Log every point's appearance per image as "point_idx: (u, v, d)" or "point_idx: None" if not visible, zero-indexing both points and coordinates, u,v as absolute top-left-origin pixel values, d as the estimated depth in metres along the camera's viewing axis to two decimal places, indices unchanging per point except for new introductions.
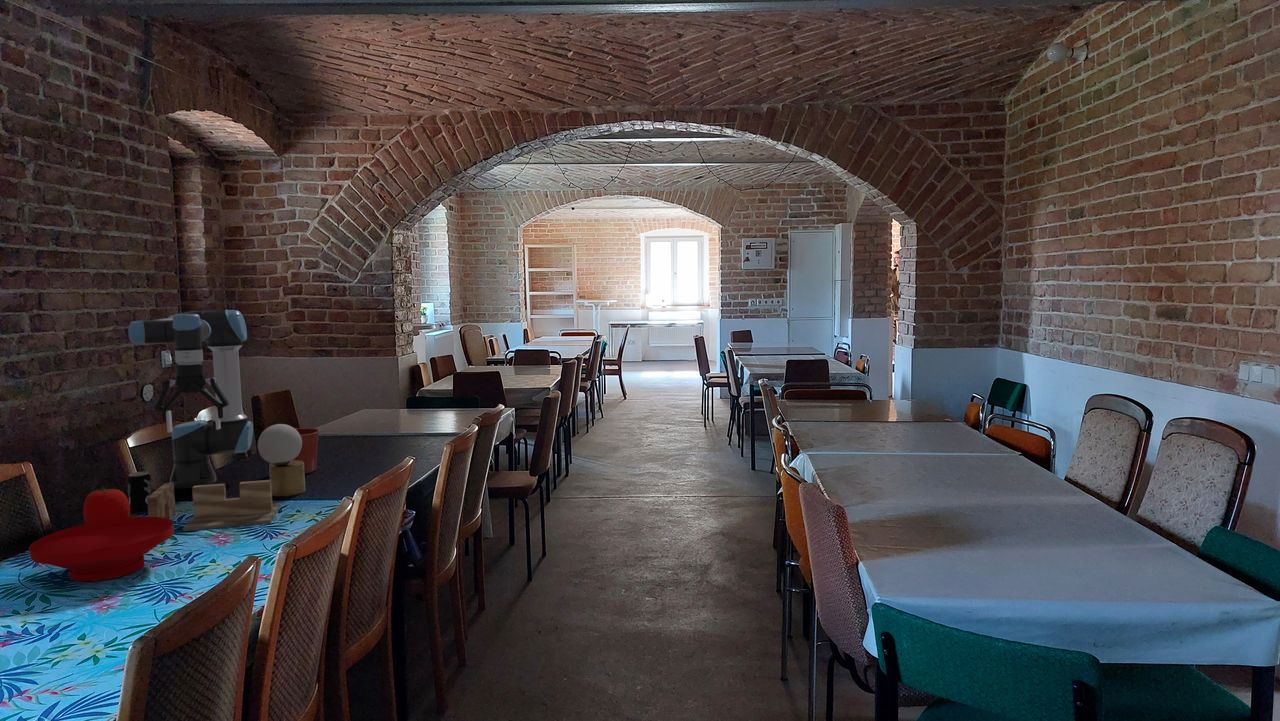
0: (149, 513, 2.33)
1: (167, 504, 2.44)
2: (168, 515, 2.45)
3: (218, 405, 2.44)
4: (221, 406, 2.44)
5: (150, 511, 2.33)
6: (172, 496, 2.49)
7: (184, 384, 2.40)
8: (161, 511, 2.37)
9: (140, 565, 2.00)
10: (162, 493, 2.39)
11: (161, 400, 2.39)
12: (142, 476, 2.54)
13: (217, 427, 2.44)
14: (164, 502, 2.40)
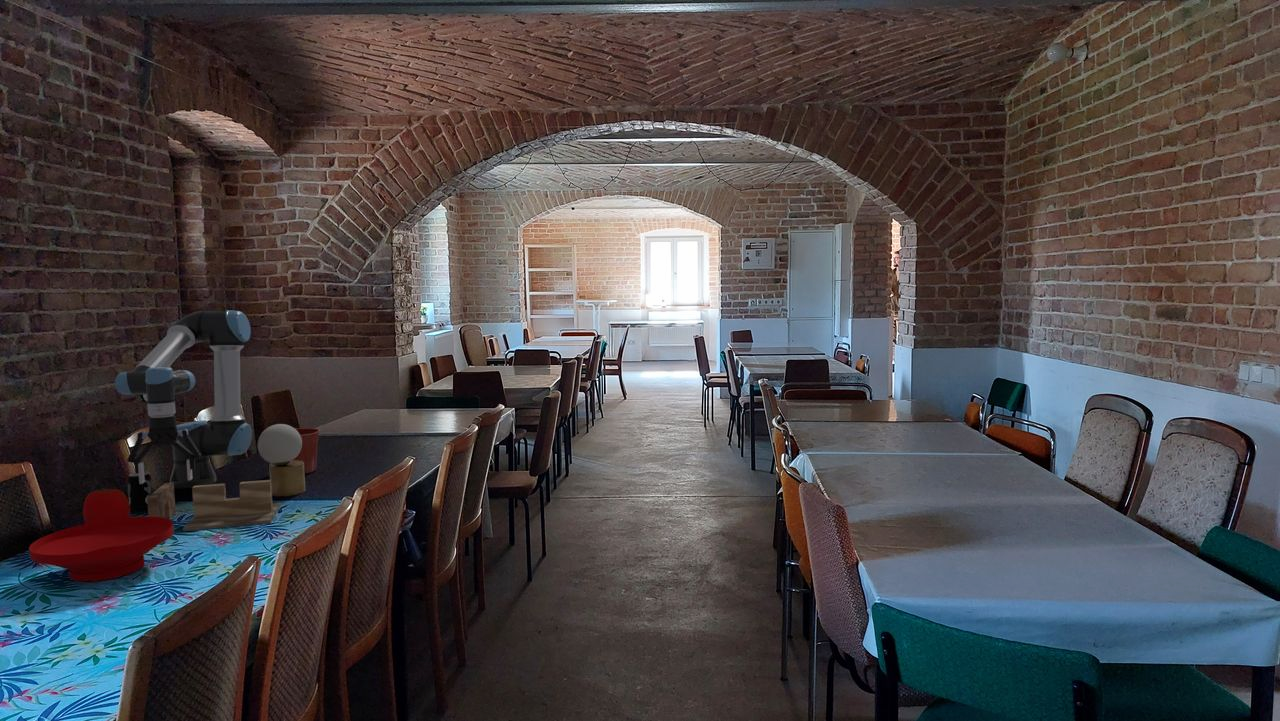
0: (149, 513, 2.33)
1: (167, 504, 2.44)
2: (168, 515, 2.45)
3: (190, 456, 2.48)
4: (193, 457, 2.49)
5: (150, 511, 2.33)
6: (172, 496, 2.49)
7: (156, 436, 2.44)
8: (161, 511, 2.37)
9: (140, 565, 2.00)
10: (162, 493, 2.39)
11: (133, 452, 2.43)
12: None
13: (189, 478, 2.48)
14: (164, 502, 2.40)
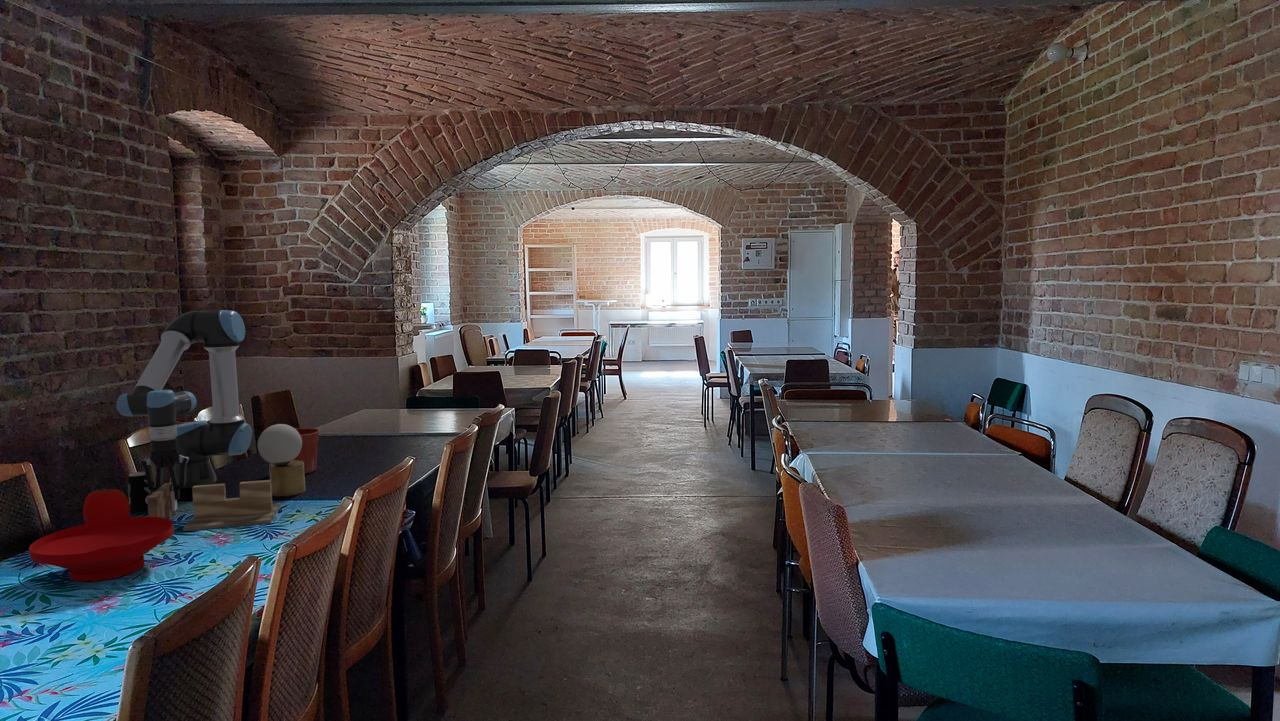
0: (149, 513, 2.33)
1: (167, 504, 2.44)
2: (168, 515, 2.45)
3: (175, 487, 2.48)
4: (177, 489, 2.48)
5: (150, 511, 2.33)
6: None
7: (158, 459, 2.45)
8: (161, 511, 2.37)
9: (140, 565, 2.00)
10: (162, 493, 2.39)
11: (149, 480, 2.45)
12: (142, 476, 2.54)
13: (173, 508, 2.48)
14: (164, 502, 2.40)
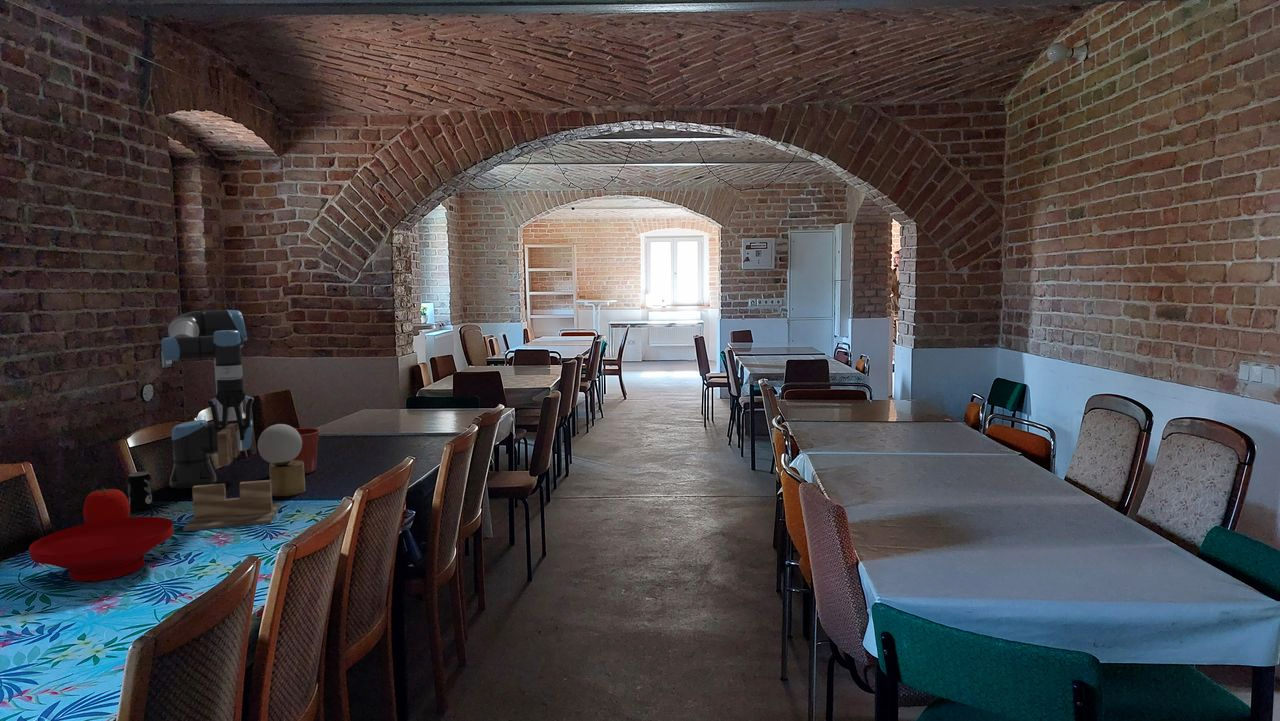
0: (219, 449, 2.33)
1: (233, 443, 2.45)
2: (234, 454, 2.45)
3: (241, 427, 2.48)
4: (242, 429, 2.49)
5: (220, 447, 2.33)
6: None
7: (224, 399, 2.45)
8: (229, 448, 2.37)
9: (140, 565, 2.00)
10: (230, 431, 2.39)
11: (216, 420, 2.46)
12: (142, 476, 2.54)
13: (239, 449, 2.48)
14: (231, 440, 2.41)
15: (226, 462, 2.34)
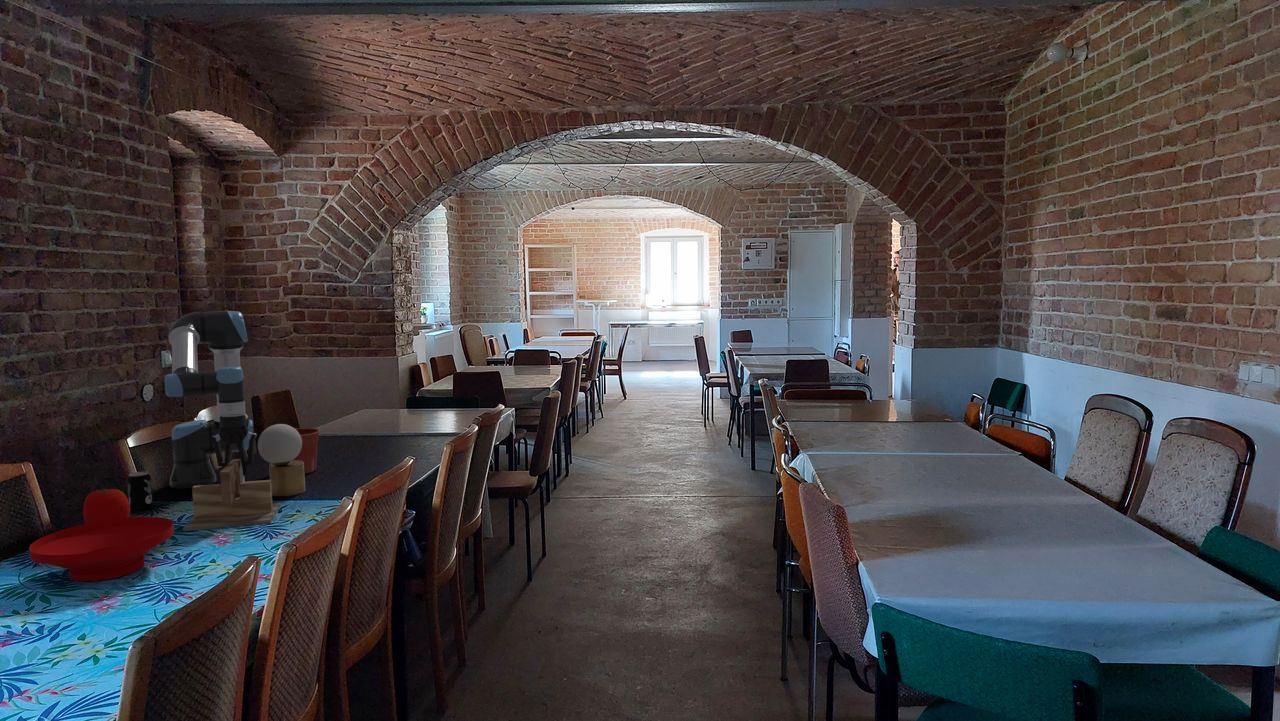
0: (222, 487, 2.35)
1: (236, 480, 2.46)
2: (237, 491, 2.46)
3: (244, 463, 2.49)
4: (245, 465, 2.50)
5: (223, 485, 2.35)
6: None
7: (227, 435, 2.47)
8: (232, 486, 2.38)
9: (140, 565, 2.00)
10: (233, 468, 2.41)
11: (218, 456, 2.47)
12: (142, 476, 2.54)
13: None
14: (234, 477, 2.42)
15: (229, 500, 2.36)
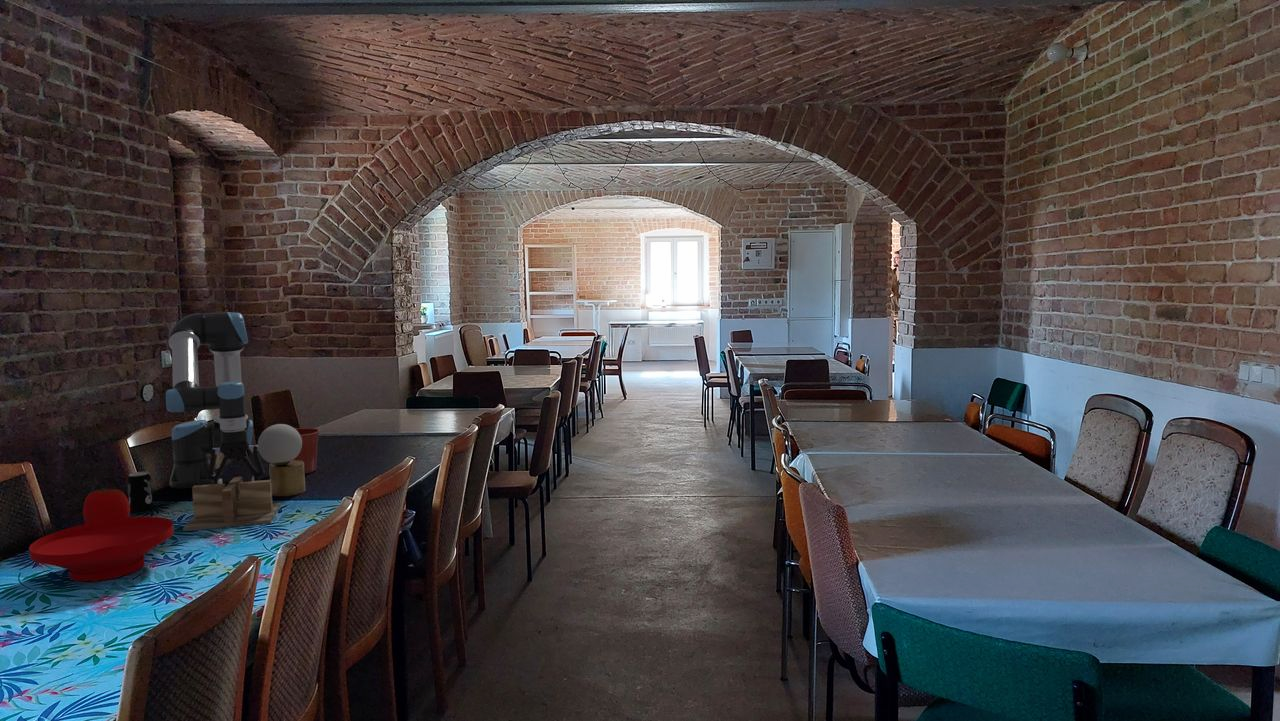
0: (223, 506, 2.35)
1: None
2: None
3: (255, 474, 2.51)
4: (257, 475, 2.51)
5: (224, 504, 2.35)
6: None
7: (228, 450, 2.47)
8: (234, 505, 2.39)
9: (140, 565, 2.00)
10: (234, 487, 2.41)
11: (211, 469, 2.47)
12: (142, 476, 2.54)
13: None
14: (236, 496, 2.43)
15: (231, 519, 2.36)
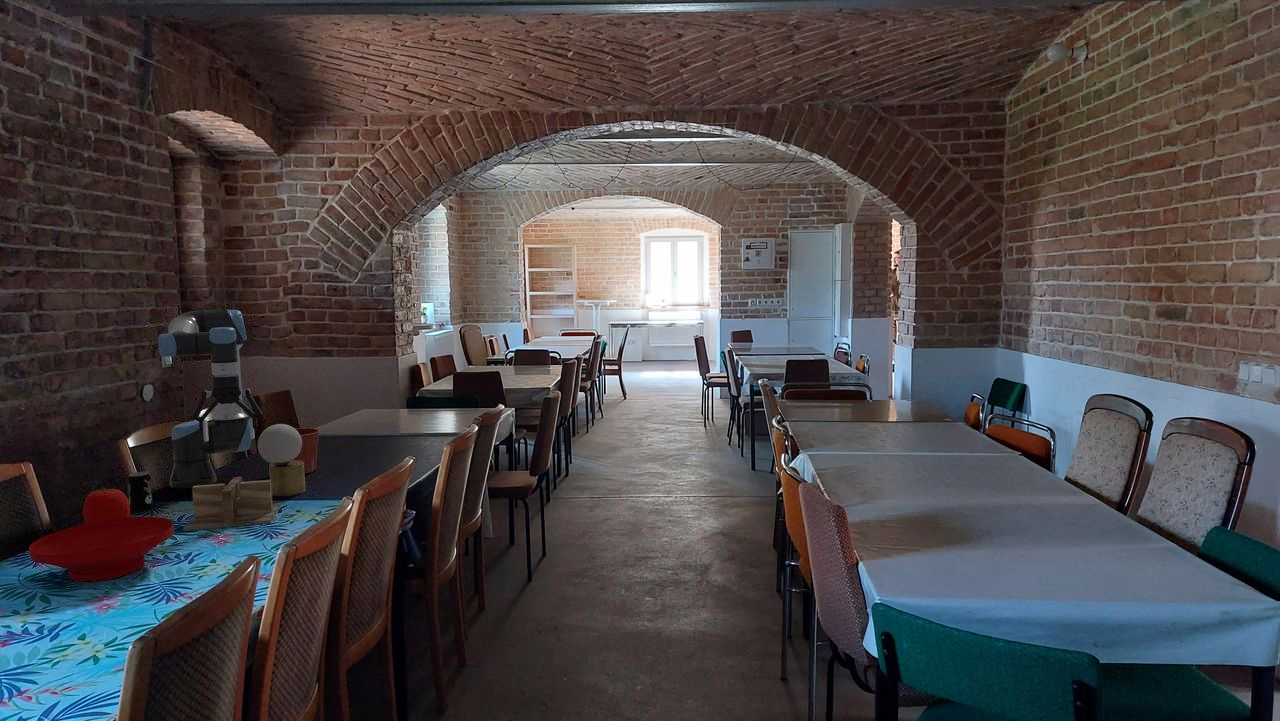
0: (223, 506, 2.35)
1: None
2: None
3: (253, 415, 2.52)
4: (255, 416, 2.53)
5: (224, 504, 2.35)
6: None
7: (220, 395, 2.48)
8: (234, 505, 2.39)
9: (140, 565, 2.00)
10: (234, 487, 2.41)
11: (198, 411, 2.47)
12: (142, 476, 2.54)
13: (252, 436, 2.53)
14: (236, 496, 2.43)
15: (231, 519, 2.36)
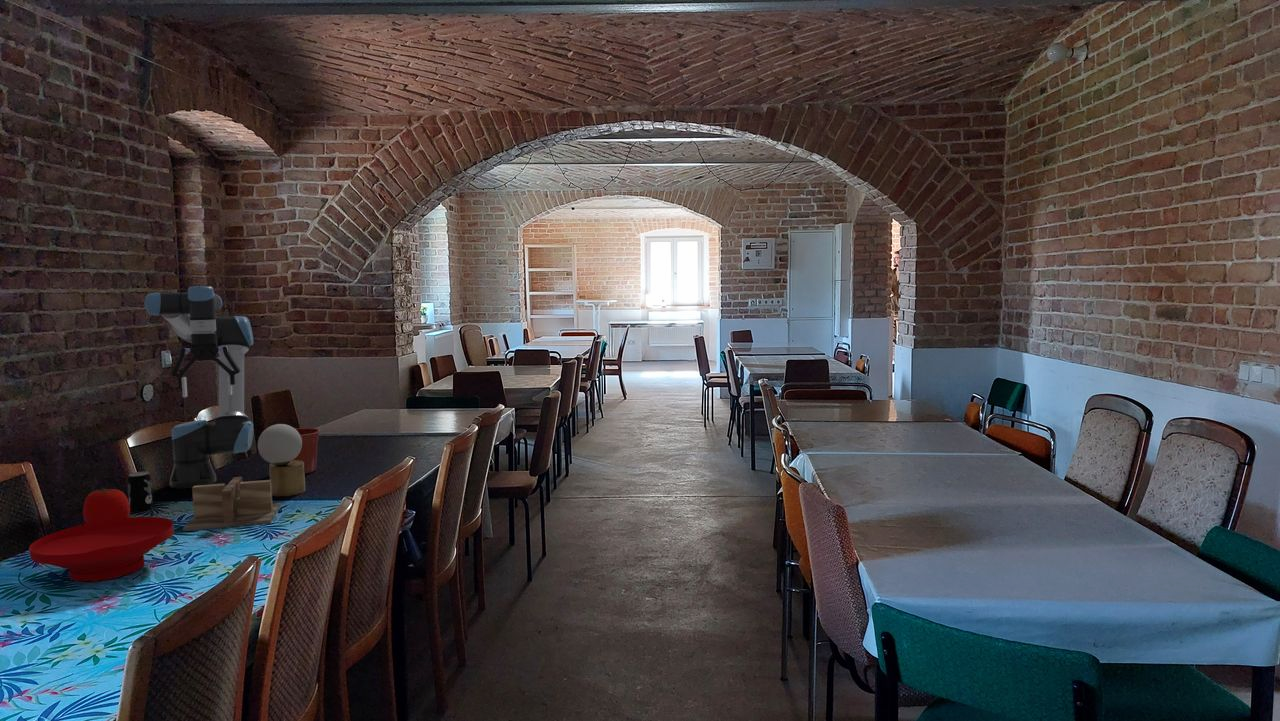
0: (223, 506, 2.35)
1: None
2: None
3: (230, 372, 2.60)
4: (233, 373, 2.60)
5: (224, 504, 2.35)
6: None
7: (198, 352, 2.56)
8: (234, 505, 2.39)
9: (140, 565, 2.00)
10: (234, 487, 2.41)
11: (177, 367, 2.55)
12: (142, 476, 2.54)
13: (229, 393, 2.60)
14: (236, 496, 2.43)
15: (231, 519, 2.36)
